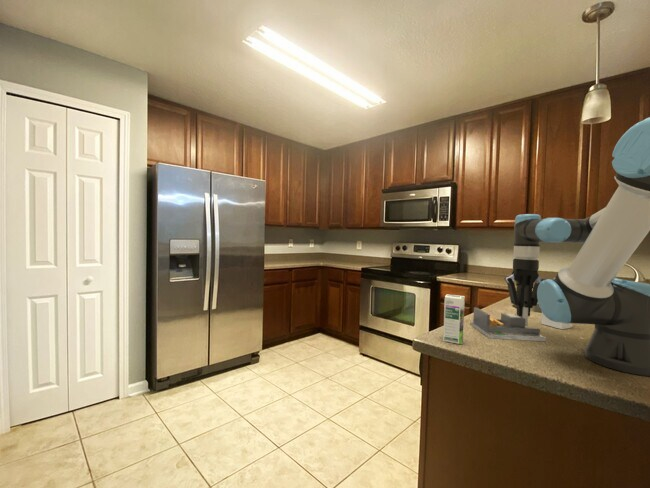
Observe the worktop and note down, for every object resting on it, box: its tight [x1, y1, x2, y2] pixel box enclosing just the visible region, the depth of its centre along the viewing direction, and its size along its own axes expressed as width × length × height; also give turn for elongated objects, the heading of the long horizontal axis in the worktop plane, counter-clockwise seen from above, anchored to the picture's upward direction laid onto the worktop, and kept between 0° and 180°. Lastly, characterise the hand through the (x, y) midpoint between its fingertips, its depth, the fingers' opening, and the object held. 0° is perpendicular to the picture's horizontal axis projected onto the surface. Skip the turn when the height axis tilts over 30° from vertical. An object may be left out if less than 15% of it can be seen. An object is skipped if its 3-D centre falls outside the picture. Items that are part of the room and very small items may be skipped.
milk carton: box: [541, 277, 573, 330], centre depth 113 cm, size 7×7×19 cm
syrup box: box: [442, 293, 466, 345], centre depth 94 cm, size 6×6×14 cm
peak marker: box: [489, 317, 503, 326], centre depth 102 cm, size 10×2×3 cm, turn 175°
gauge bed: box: [469, 307, 547, 342], centre depth 104 cm, size 15×18×7 cm
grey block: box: [500, 312, 526, 327], centre depth 103 cm, size 6×5×5 cm
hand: (522, 325), depth 103 cm, fingers closed
